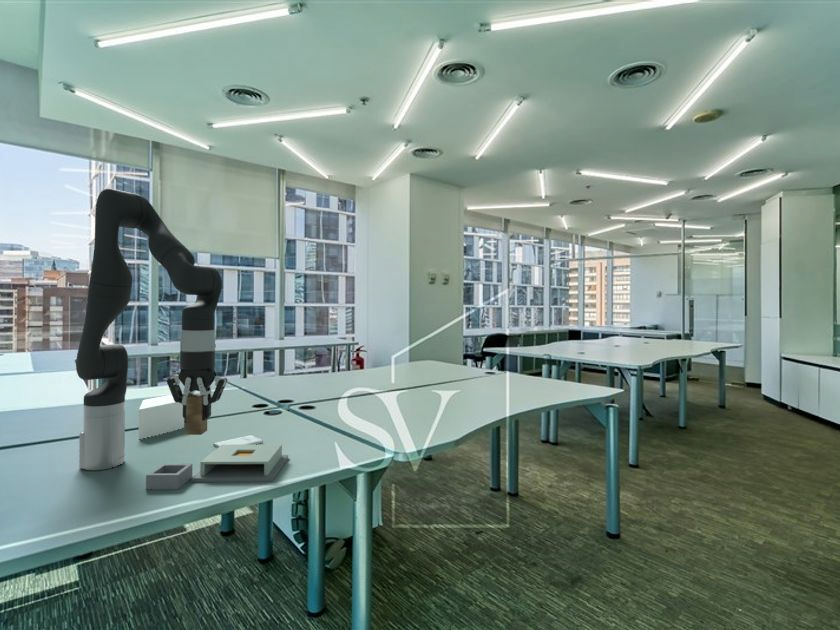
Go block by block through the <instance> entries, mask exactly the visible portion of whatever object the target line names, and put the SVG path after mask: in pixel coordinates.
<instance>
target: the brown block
mask: <svg viewBox="0 0 840 630" xmlns="http://www.w3.org/2000/svg"><path fill="white" fill-rule="evenodd" d="M202 398H203V397H202V396H201V395H200V393H194V394H193V395H190V396H189V397H186V420H185V435H187V436H200V435H203V434H205V433H206V432H207V431H208V419H207V420H202V411H203V405H204V404H203V400H202Z"/></svg>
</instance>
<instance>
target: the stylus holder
mask: <svg viewBox="0 0 840 630" xmlns="http://www.w3.org/2000/svg"><path fill="white" fill-rule="evenodd" d="M192 477H193V463H162V464H160V465H158V466H157V467H156V468H155V469H153V470H151V471H150V472H149V473H147V474H146V475H145V490H146V489H149V490H150V489H152V490H179V489H180V488H182V487H183V486H184V485H185V484H186V483H188V482H189V481H190V479H191V480H192Z"/></svg>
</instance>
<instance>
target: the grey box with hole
mask: <svg viewBox="0 0 840 630" xmlns="http://www.w3.org/2000/svg"><path fill="white" fill-rule="evenodd" d="M237 452H253V453H252V454H251V455H250V456H234V455H235V454H236V453H237ZM288 459H289V454H283V444H280V443H279V444H269V443H268V444H263V443H261V444H257V445H221V446H220V447H218V448H216V449H214V451H212V452H211V453H210V454H208V455H207V456H206V457H204V459H202V460H201V461H200V464H199V465H200V467H199V468H200V470H199V471H198V472H196V473H195V475H194V476H192V478H191V483H236V482H237V483H238V482H239V483H240V482H241V483H242V482H243V483H245V482H246V483H248V482H249V483H250V482H251V483H252V482H263V483H264V482H265V483H266V482H273V481H274V480H275V478H276V477H277V475H279V473H280V471H281V470H282V468H283V467H284V465H285V464H286V462H287V461H288Z"/></svg>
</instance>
